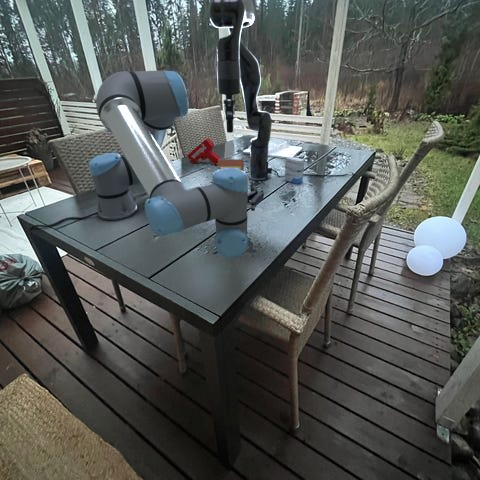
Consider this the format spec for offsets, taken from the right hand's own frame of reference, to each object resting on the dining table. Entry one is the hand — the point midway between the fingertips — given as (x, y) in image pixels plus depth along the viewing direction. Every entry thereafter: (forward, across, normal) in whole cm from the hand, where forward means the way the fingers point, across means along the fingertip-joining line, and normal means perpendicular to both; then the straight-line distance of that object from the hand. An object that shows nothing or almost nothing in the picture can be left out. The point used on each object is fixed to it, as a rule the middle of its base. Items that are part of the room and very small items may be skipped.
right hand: (230, 129), depth 97 cm
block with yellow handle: (+17, +4, 0) cm, 17 cm away
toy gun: (+32, -67, -18) cm, 76 cm away
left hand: (+15, +16, 0) cm, 22 cm away
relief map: (+32, -93, +30) cm, 103 cm away
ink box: (+32, -33, +33) cm, 57 cm away
